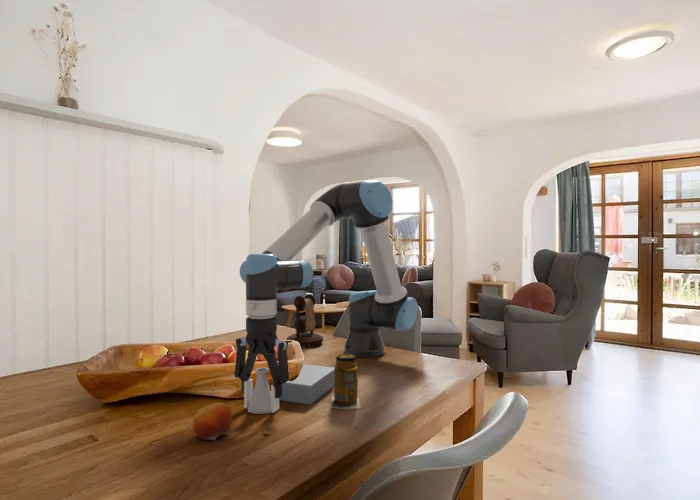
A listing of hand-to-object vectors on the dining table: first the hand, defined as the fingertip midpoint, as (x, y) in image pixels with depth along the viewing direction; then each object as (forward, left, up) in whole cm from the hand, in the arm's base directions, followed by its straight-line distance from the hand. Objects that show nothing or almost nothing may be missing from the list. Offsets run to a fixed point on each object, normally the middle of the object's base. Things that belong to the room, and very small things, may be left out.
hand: (261, 408), depth 107 cm
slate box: (-15, +4, 0) cm, 16 cm away
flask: (0, 0, -1) cm, 1 cm away
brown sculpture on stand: (-65, -21, -1) cm, 68 cm away
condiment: (-12, +18, -1) cm, 21 cm away
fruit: (+16, -2, -1) cm, 16 cm away
